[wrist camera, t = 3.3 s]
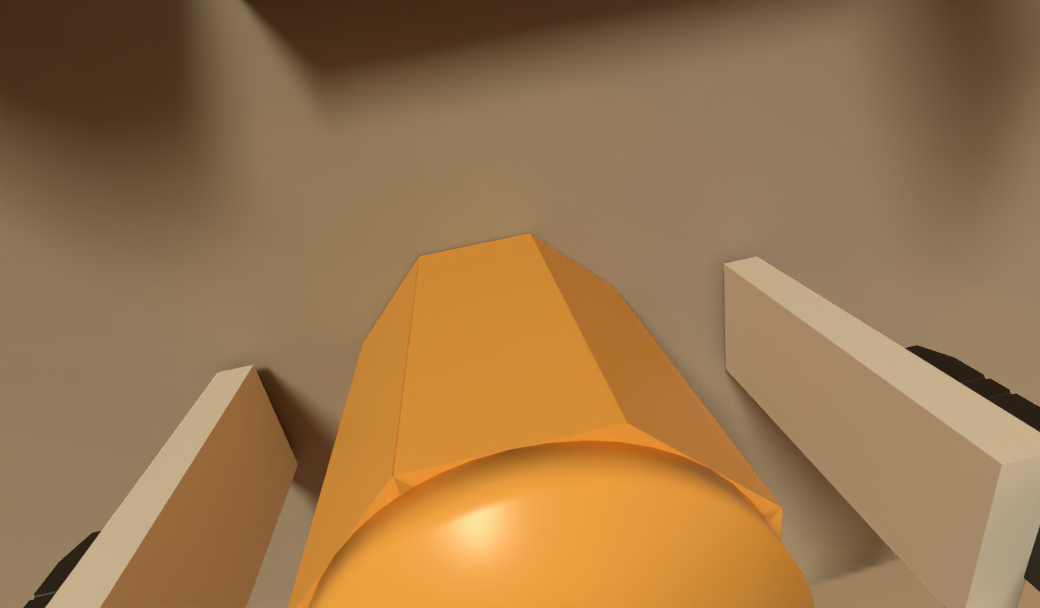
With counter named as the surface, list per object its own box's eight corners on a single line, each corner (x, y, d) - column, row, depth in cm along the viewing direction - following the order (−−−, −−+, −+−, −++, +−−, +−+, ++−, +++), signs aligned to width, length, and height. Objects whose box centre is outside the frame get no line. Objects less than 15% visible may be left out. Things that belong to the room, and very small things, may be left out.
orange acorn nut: (410, 482, 13) (379, 881, 7) (339, 273, 11) (188, 578, 5) (631, 431, 14) (803, 770, 7) (607, 216, 11) (833, 430, 5)
